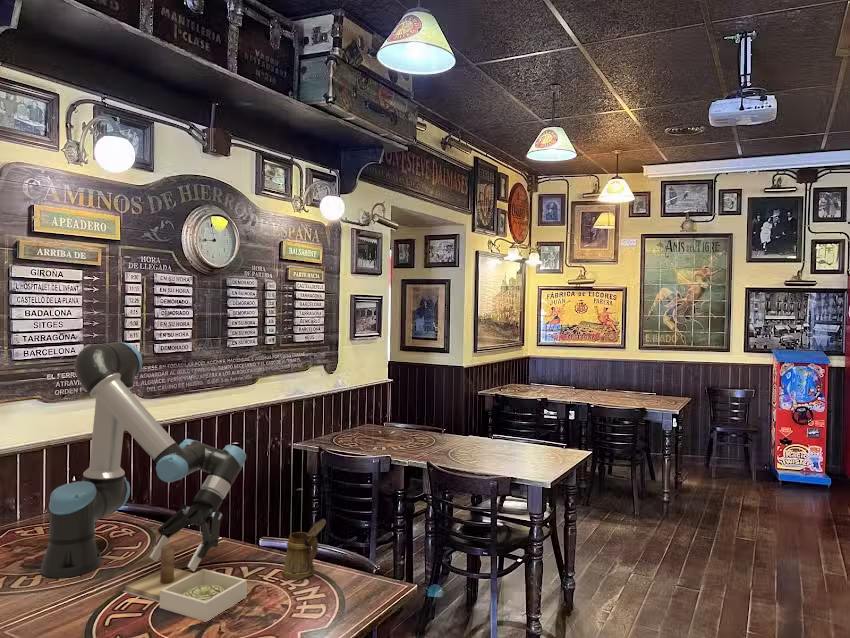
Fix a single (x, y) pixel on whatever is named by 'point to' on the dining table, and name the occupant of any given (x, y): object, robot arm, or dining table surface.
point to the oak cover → (159, 576)
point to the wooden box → (198, 608)
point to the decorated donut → (204, 592)
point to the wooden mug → (302, 553)
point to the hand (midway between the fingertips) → (171, 564)
